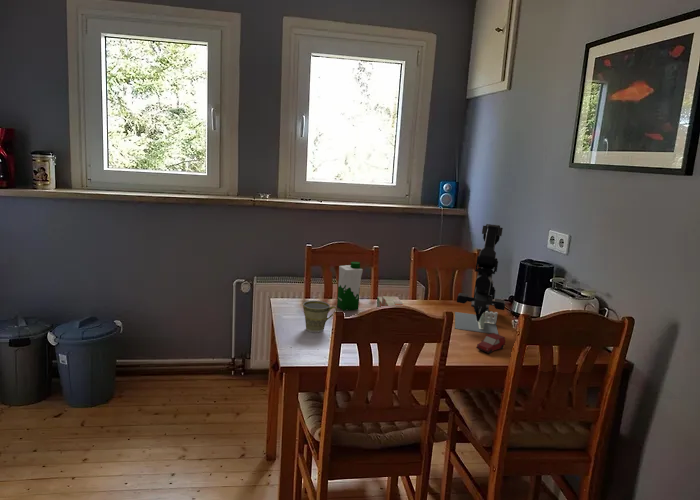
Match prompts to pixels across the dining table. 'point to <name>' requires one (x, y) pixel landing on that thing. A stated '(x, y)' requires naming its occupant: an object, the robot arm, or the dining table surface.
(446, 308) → the dining table surface
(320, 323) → the ceramic cup
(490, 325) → the mat
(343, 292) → the milk carton
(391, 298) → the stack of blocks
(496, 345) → the red toy car
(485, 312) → the fixed fence panel
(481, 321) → the hinged fence panel
